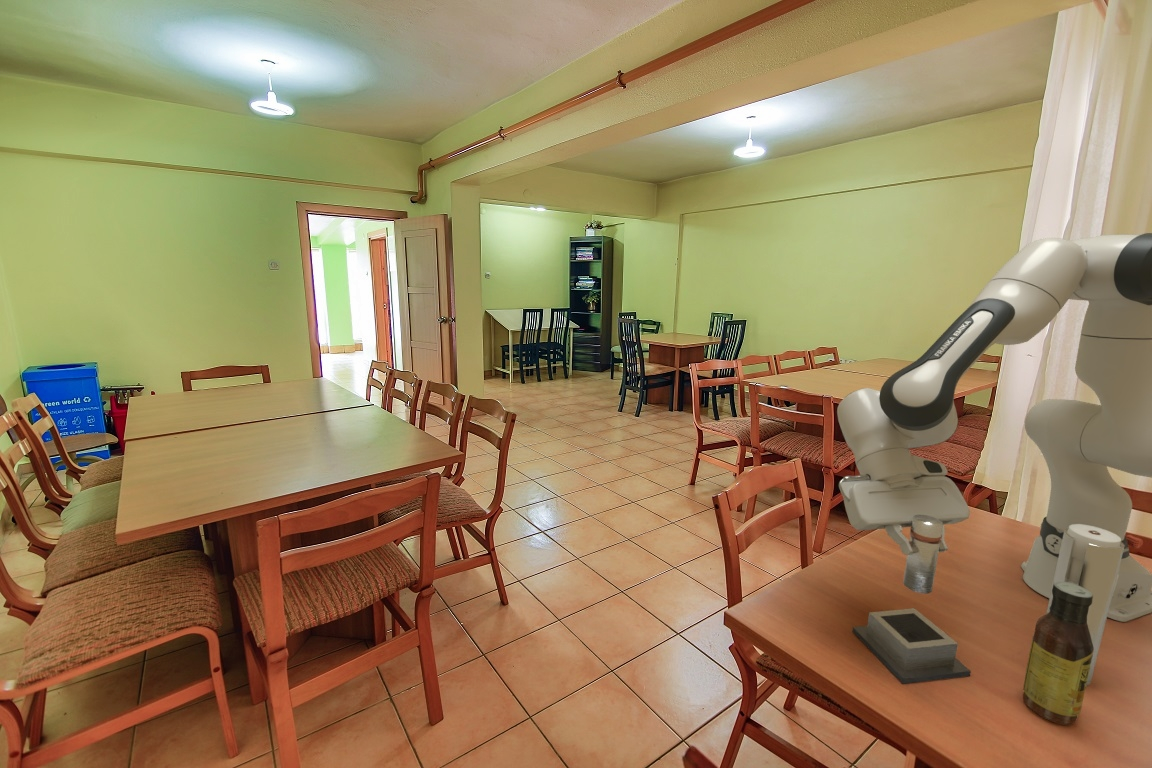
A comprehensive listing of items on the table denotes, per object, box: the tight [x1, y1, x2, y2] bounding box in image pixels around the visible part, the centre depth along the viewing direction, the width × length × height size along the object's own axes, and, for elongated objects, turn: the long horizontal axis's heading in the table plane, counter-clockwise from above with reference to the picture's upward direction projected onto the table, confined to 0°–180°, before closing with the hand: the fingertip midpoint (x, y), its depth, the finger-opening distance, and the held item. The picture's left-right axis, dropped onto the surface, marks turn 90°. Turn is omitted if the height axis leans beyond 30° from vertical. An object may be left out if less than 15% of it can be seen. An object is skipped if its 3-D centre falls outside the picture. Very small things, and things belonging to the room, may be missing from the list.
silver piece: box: [1045, 524, 1124, 687], centre depth 78 cm, size 6×6×25 cm
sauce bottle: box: [1022, 581, 1094, 726], centre depth 72 cm, size 6×6×20 cm
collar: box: [852, 607, 972, 685], centre depth 85 cm, size 12×12×5 cm
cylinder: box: [902, 515, 944, 595], centre depth 81 cm, size 4×4×12 cm
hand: (926, 552), depth 80 cm, fingers closed on cylinder, 4 cm apart
